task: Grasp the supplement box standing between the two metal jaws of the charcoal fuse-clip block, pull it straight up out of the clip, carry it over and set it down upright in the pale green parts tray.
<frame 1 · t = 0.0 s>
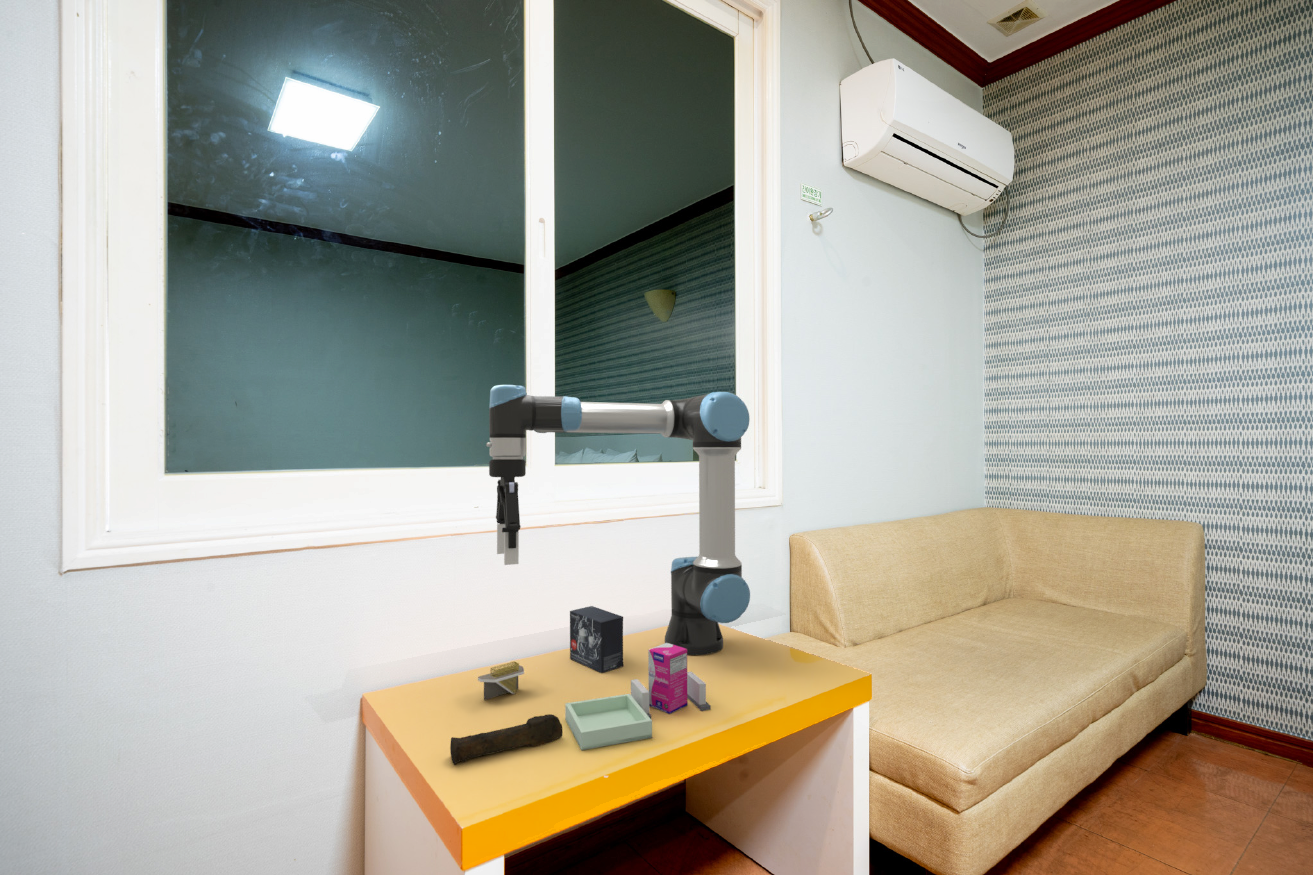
hand: (507, 558, 129), 28 cm above the table, fingers open, 13 cm apart
small box: (596, 664, 146), on the table
hand tool: (507, 750, 105), on the table
parts tray: (607, 728, 112), on the table
fuse clip: (668, 705, 122), on the table
platform: (503, 698, 127), on the table
supplement box: (668, 707, 122), on the table
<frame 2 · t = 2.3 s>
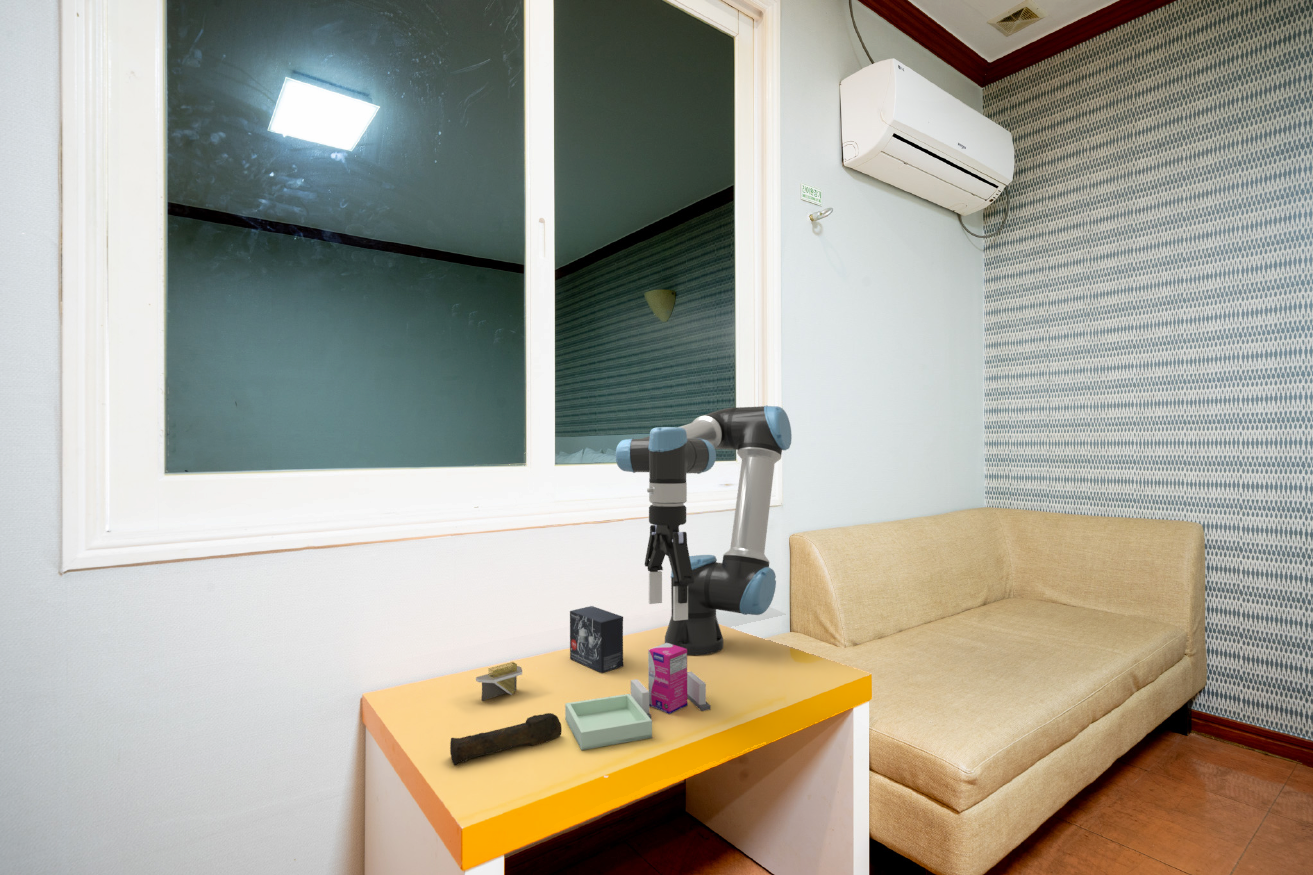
hand: (667, 611, 122), 19 cm above the table, fingers open, 13 cm apart
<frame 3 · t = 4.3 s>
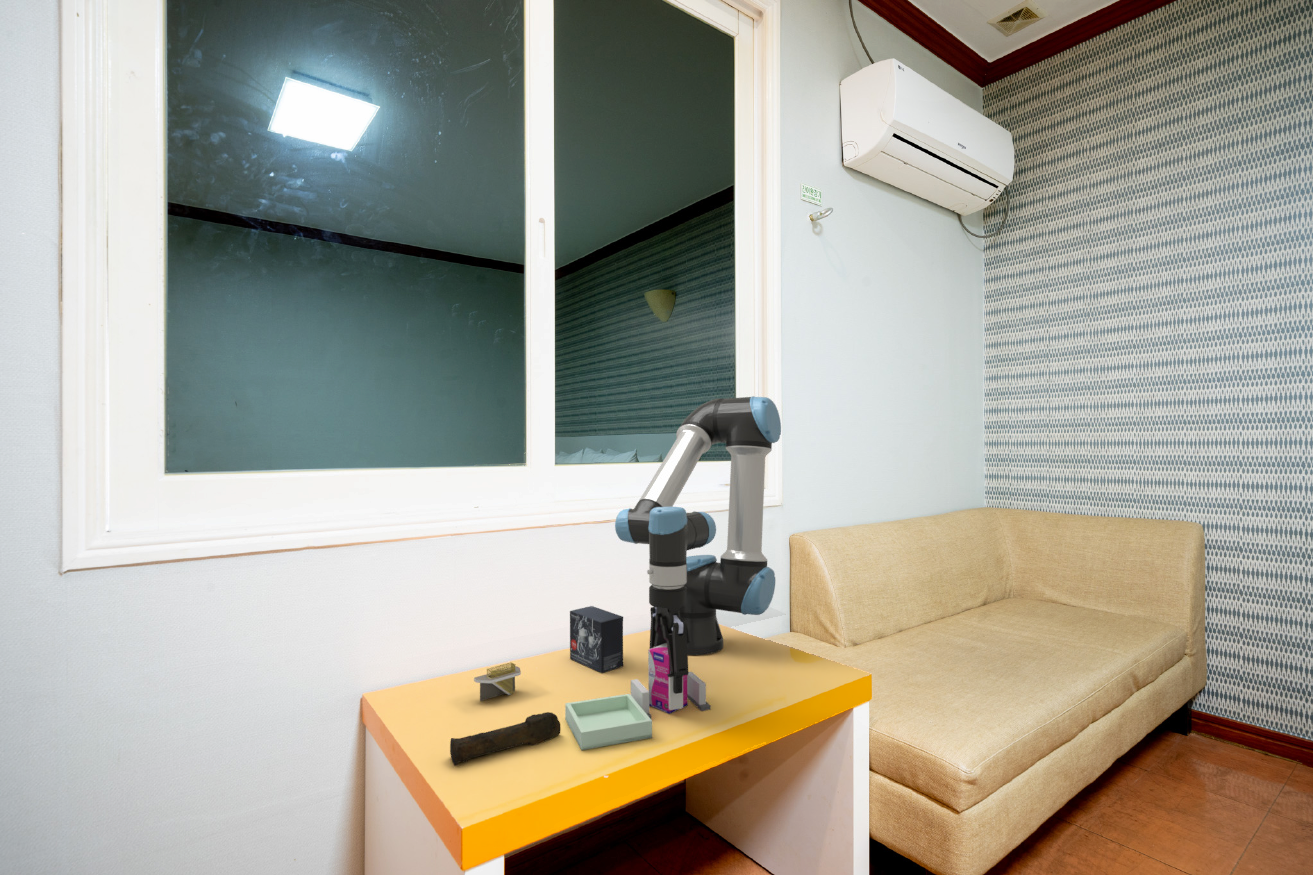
hand: (667, 700, 122), 1 cm above the table, fingers closed on supplement box, 7 cm apart
supplement box: (668, 707, 122), on the table, touching gripper
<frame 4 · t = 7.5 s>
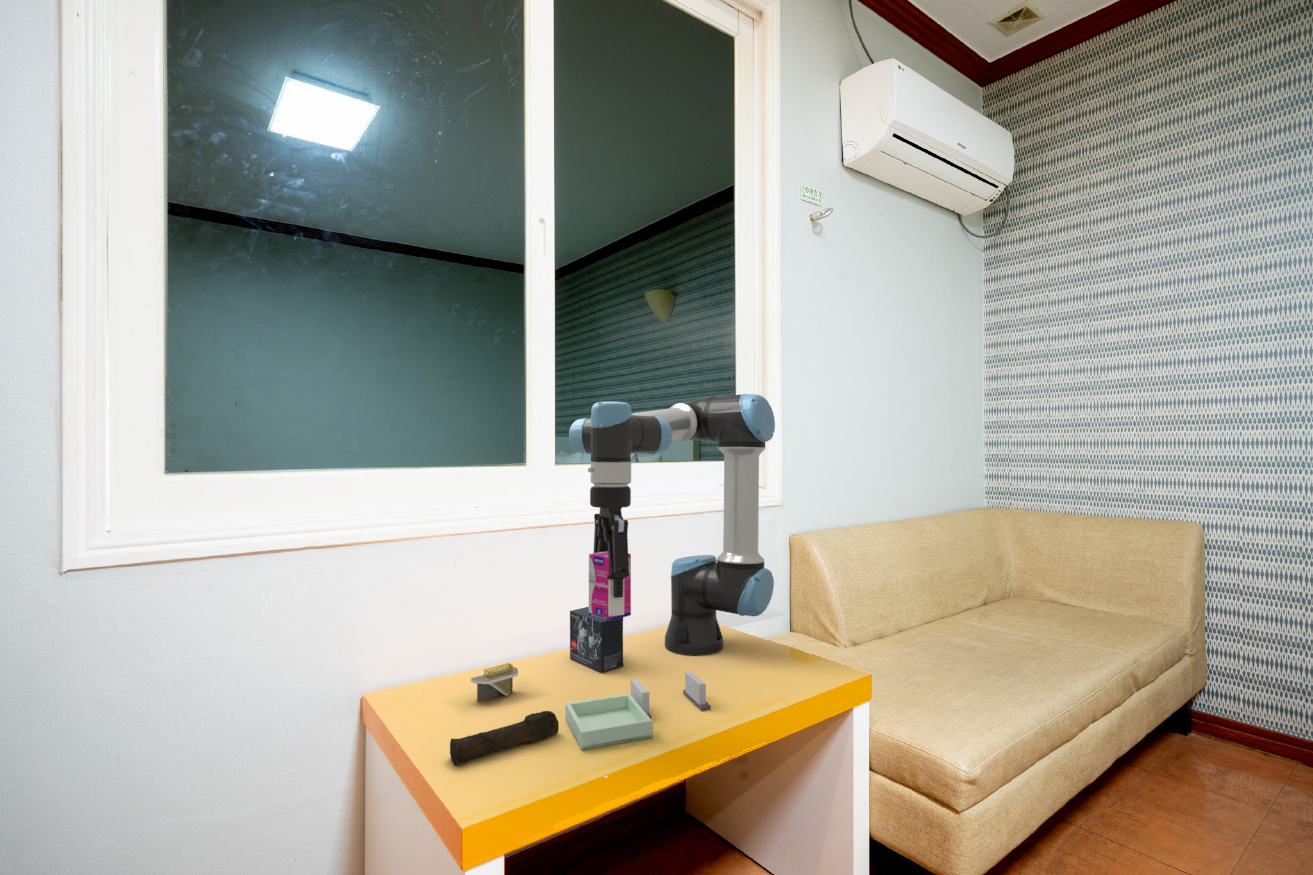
hand: (609, 609, 113), 22 cm above the table, fingers closed on supplement box, 7 cm apart
supplement box: (609, 616, 113), point 20 cm above the table, touching gripper
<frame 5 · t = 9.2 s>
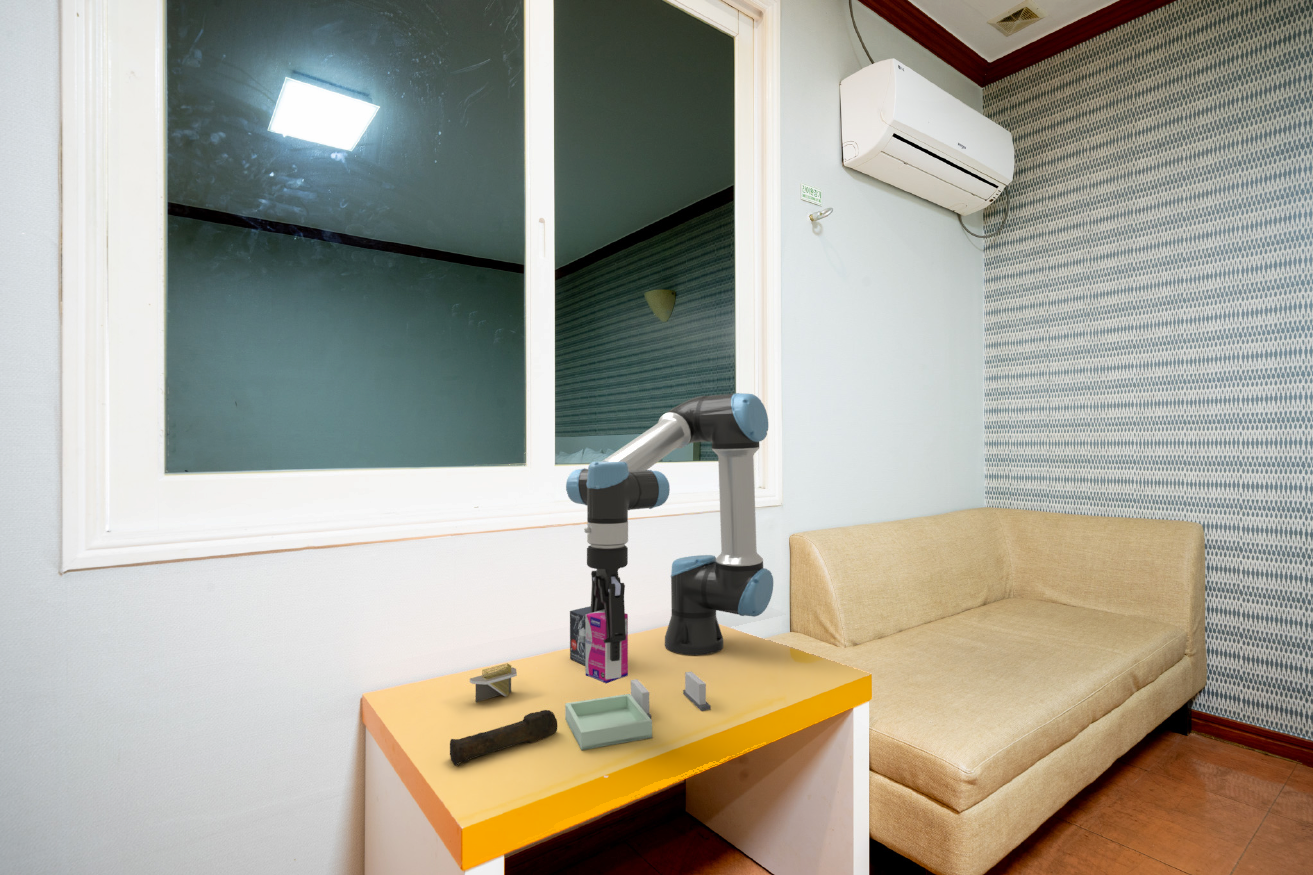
hand: (606, 669, 112), 11 cm above the table, fingers closed on supplement box, 7 cm apart
supplement box: (606, 677, 112), point 9 cm above the table, touching gripper
when the fingers open (4 cm above the table, at t = 10.7 s): supplement box drops 2 cm, resting on parts tray.
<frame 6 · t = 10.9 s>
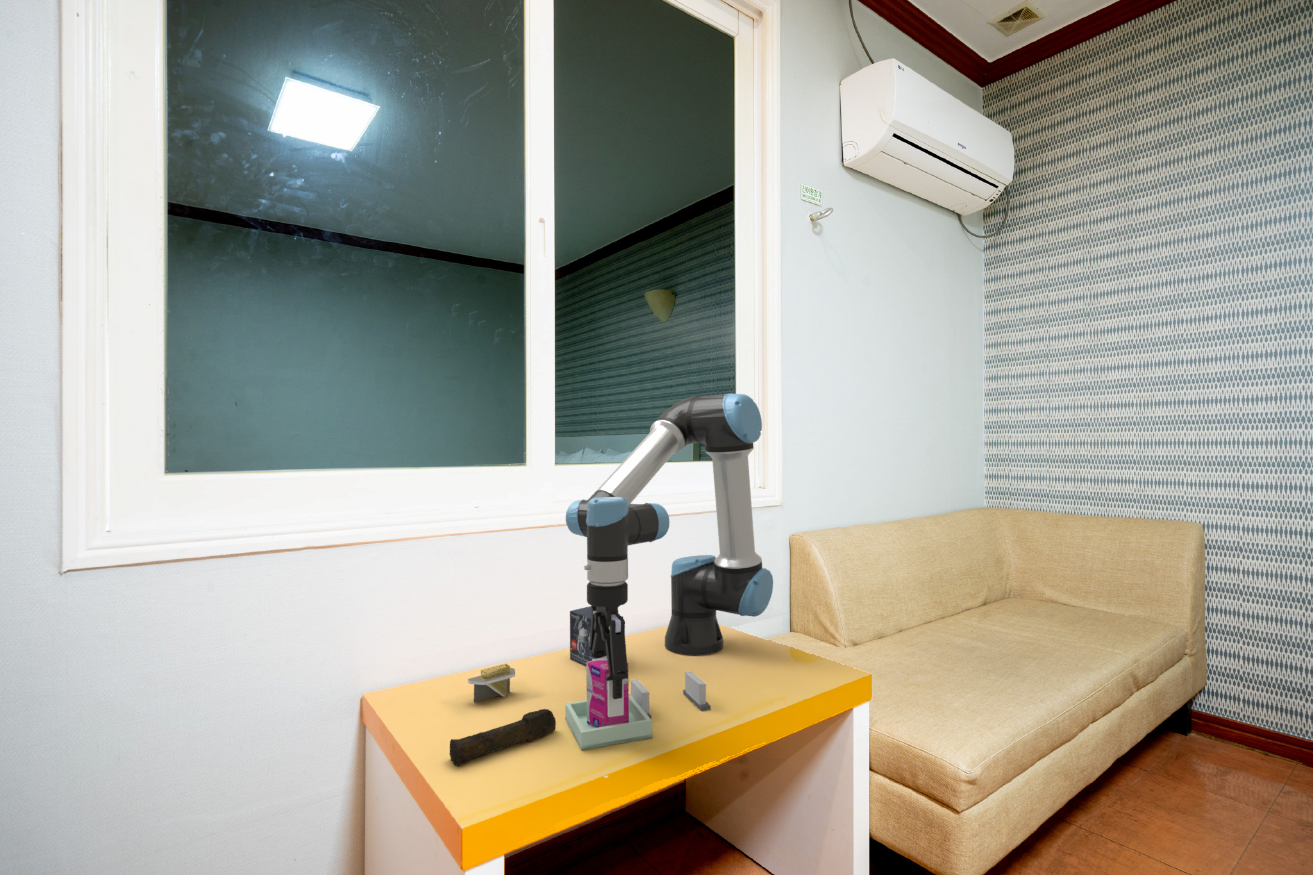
hand: (607, 703, 112), 4 cm above the table, fingers open, 10 cm apart
supplement box: (607, 725, 112), resting on parts tray
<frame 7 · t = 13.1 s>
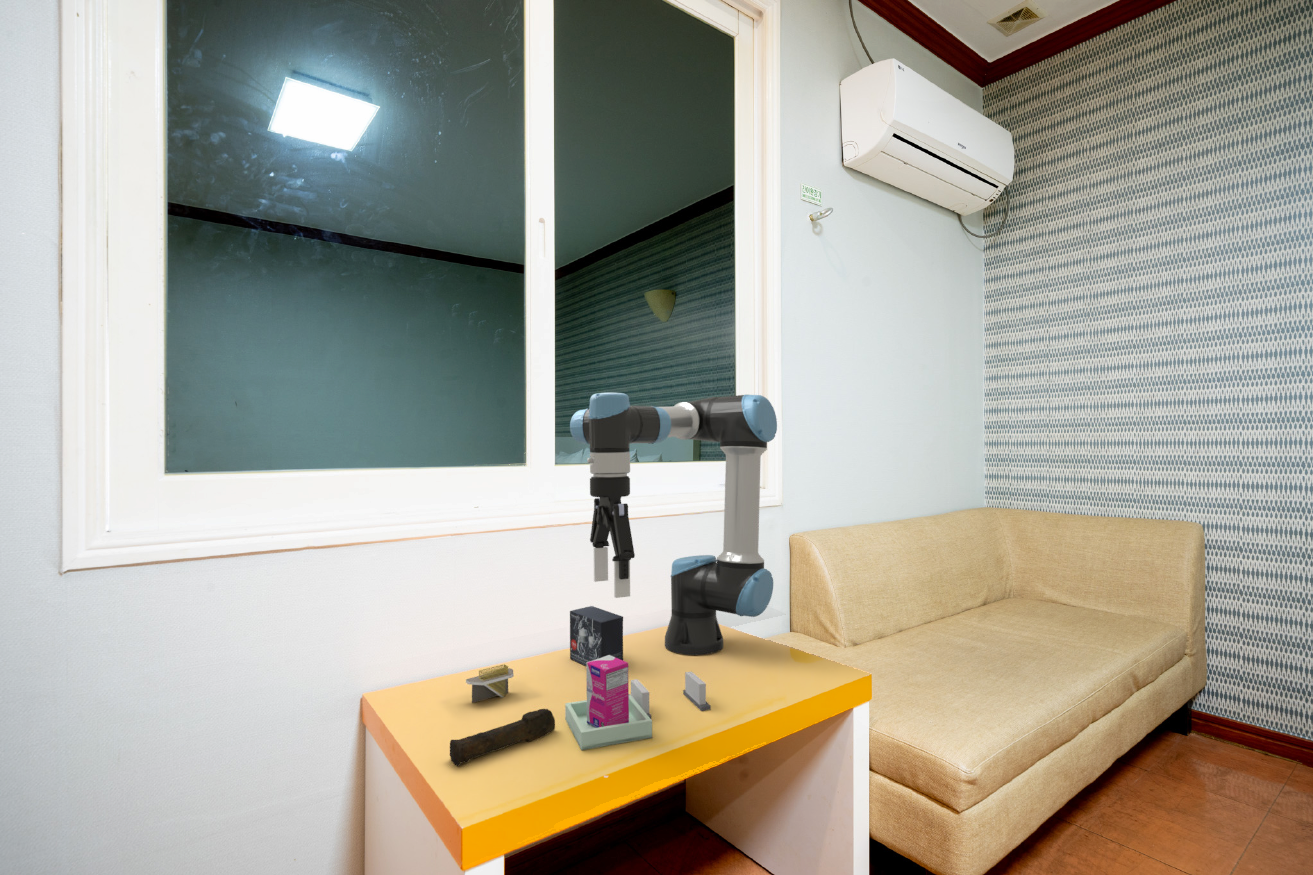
hand: (611, 588, 115), 25 cm above the table, fingers open, 13 cm apart
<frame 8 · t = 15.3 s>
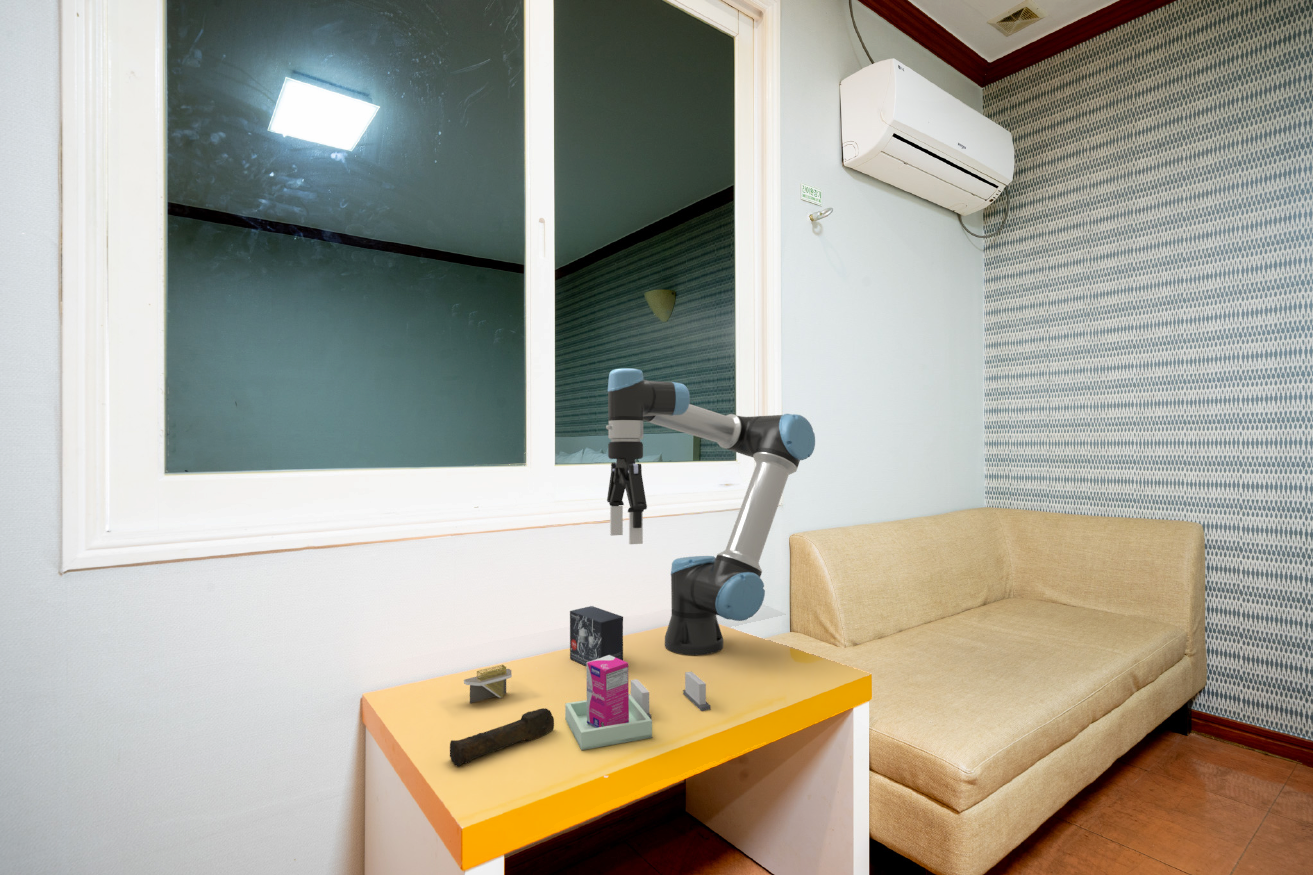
hand: (625, 539, 132), 32 cm above the table, fingers open, 13 cm apart
at the end: supplement box inside the target area on the parts tray (0.2 cm from its centre), point 0.4 cm above the parts tray's base; supplement box tilted 0°; the gripper is holding nothing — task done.
